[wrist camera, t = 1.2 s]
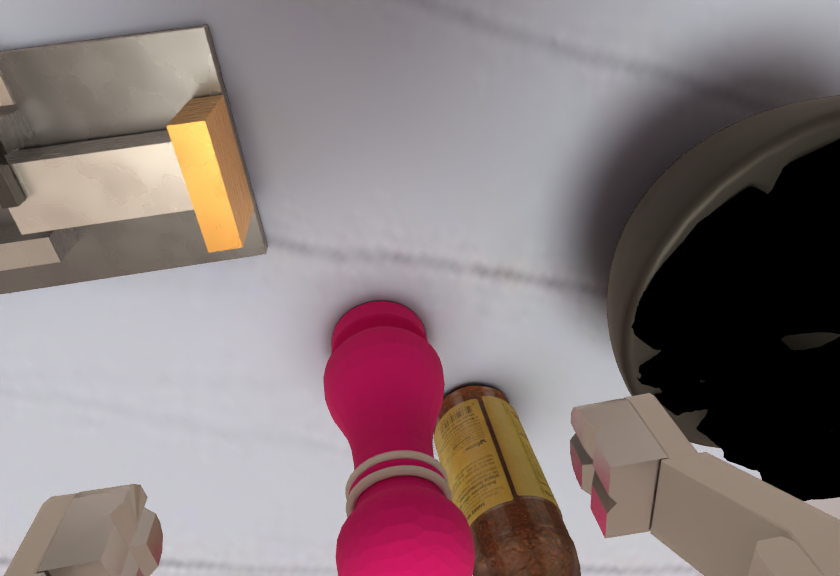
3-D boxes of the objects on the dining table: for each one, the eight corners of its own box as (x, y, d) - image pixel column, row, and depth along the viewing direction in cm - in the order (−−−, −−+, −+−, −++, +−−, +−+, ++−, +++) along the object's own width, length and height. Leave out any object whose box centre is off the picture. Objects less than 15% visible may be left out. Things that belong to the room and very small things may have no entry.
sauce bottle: (428, 445, 44) (489, 756, 27) (431, 382, 41) (503, 689, 24) (510, 439, 45) (619, 736, 28) (521, 376, 42) (650, 669, 25)
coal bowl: (571, 377, 43) (716, 639, 27) (536, 113, 32) (741, 284, 16) (834, 304, 42) (1139, 524, 26) (885, 14, 32) (1445, 88, 16)
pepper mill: (300, 339, 38) (277, 666, 21) (383, 272, 36) (431, 569, 19) (375, 397, 41) (407, 719, 24) (453, 339, 39) (548, 641, 22)
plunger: (-34, 58, 26) (-101, 80, 22) (204, 28, 27) (182, 43, 23) (53, 236, 31) (11, 282, 27) (254, 207, 31) (242, 247, 27)
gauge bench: (-233, 80, 26) (-396, 121, 21) (207, 25, 28) (174, 47, 22) (-86, 299, 33) (-178, 378, 27) (267, 246, 34) (254, 310, 28)
